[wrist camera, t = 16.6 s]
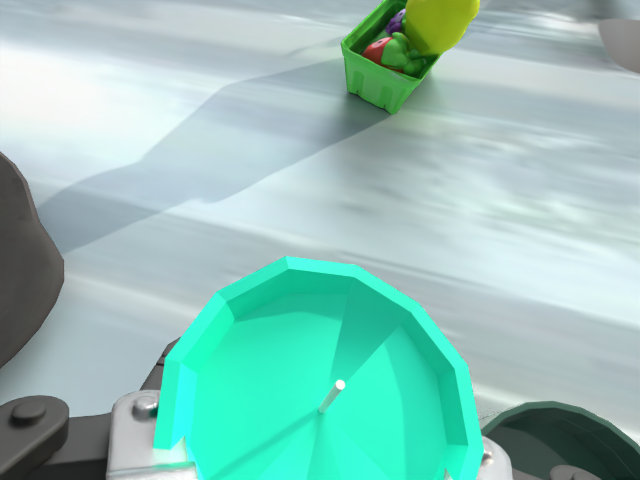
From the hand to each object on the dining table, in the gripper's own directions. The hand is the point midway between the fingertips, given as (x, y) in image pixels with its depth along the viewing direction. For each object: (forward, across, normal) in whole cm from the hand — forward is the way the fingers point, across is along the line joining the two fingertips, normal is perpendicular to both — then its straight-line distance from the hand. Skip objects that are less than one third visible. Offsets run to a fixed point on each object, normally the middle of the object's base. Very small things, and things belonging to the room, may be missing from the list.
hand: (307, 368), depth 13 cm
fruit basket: (+36, -7, -12) cm, 38 cm away
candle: (+3, 0, +6) cm, 6 cm away
